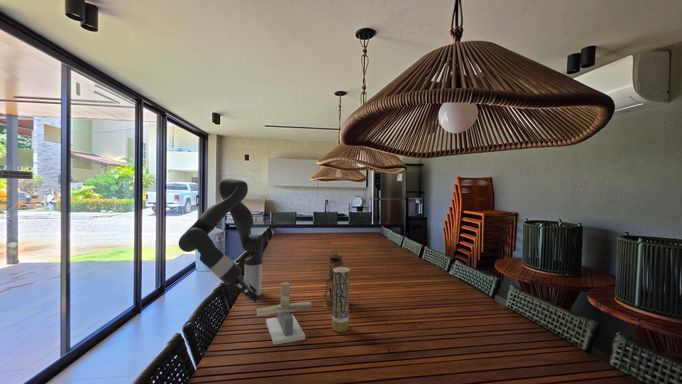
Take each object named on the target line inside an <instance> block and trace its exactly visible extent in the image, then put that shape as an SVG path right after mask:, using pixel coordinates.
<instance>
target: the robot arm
mask: <svg viewBox="0 0 682 384" xmlns="http://www.w3.org/2000/svg"><path fill="white" fill-rule="evenodd" d="M218 187H219V195H220V196H221V199H222V200H221V201H220V202H216V203H215V204H213V205H211V206H209V207H208V208H207V209H206V210H204V212H202V214H201V215H200V216H199V217H198V218H197V219H196V221H195V222H194V224H192V225H191V226H190V227H189V228H188V229H187V230H186V231H185V232H184V233H183V234H182V235H181V236H180V237H179V240H178V247H179V249H180V250H181V251H183V252H185V253H191V252H193V251H195V250H196V251H197V252H198V253H199V254H200V255H199V260H200V262H202V264H203V265H204V266H206V267H207V268H208V269H209V270H210V271H211V272H212V273H213V274H214V275H215V276H216V277H218V279H219V280H221V281H222V282H223V283H224V284H225V285H227V286H228V285H229V286H230V285H231V284H232V283H234V286H235V288H236V289H237V290H238V291H239V292H241V294H243V296H244V297H246V298H250V300H252V301H253V302H257V301H258V300H260V297H259V296H261V295H262V276H263V275H262V274H263V268H262V267H263V256H264V255H263V252H264V237H263V235H262V234H249V231H250V230H251V229H252V227H253V225H254V218H253V214H252V211H251V210H250V208H248V206H246V205H245V204H244V203H243V200H244V199H245V198H246V197H247V195H248V192H249V191H248V190H249V187H248V183H247V182H246V181H244V180H241V179H240V180H239V179H235V178H234V179H232V178H224V179H222V180H220V182H219V186H218ZM228 213H230V215H231V218H232V221H233V223H234V226H235V228H236V230H237V232H238V235H239V239H240V242H241V243H240V244H241V247H242V249H243V251H244V252H255V254H253V255H252V256H249V257H246V258H245V259H244V275H243V274H241V273H242V271H243V269H242V268H241V267H240V266H239V265H238V264H237V263H236V262H234V260H232V259H231V258H230V257H229V256H228V255H226V254H224V253H223V251H221V249H219V248H218V247H217V246H216V245H215V243H214V241H213V240H212V238H211V237H210V235H209V234H210V233H212V231H214V229H215V228H216V227H217V226H218V224H219V223H220V222H221V220H223V218H224V217H226V215H227V214H228Z"/></svg>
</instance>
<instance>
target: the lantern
mask: <svg viewBox="0 0 682 384" xmlns="http://www.w3.org/2000/svg"><path fill="white" fill-rule="evenodd" d="M335 250H336V249H334V251H333V252H334V254H331V255H328V258H329V260H328V268H327V270H328V271H329V273H328V276H327V277H328V278H329V279H327V280H326V281H325V285H326V286H327V287H326V288H325V292H324V302H323V303H322V306H323V308H325V309H326V310H331V311H333V273H334V268H336V267H344V264H343V260H342V258H343V256H342V255H340V254H338V253H337V252H336V251H335ZM328 293H329V294H328Z"/></svg>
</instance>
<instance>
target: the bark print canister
mask: <svg viewBox="0 0 682 384" xmlns="http://www.w3.org/2000/svg"><path fill="white" fill-rule="evenodd" d="M350 274H351V273H350V268H349V267H345V266H343V267H336V268H334V273H333V310H332V317H331V318H332V322H331V323H332V325H331V326H332V330H333V331H334V332H336V333H343V332H344V333H345V332H346V331H348V330H349V321H350V320H349V319H350V318H349V317H350V316H349V315H350V313H349V312H350V278H351V275H350Z"/></svg>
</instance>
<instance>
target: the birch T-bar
mask: <svg viewBox="0 0 682 384" xmlns="http://www.w3.org/2000/svg"><path fill="white" fill-rule="evenodd" d="M290 290H291V285H290V283H289V282H280V303H279V304H280V305H278V304H277V305H270V306H269V305H268V306H263V307H257V308H256V315H257V317H261V316H267V315H268V316H269V315H273V314H278V313H283V312H290V313H291V312H295V311H303V310H308V309H309V310H310V309H312V302H311V301H310V300H309V301H301V302H293V303H292V302H291V303H290V293H291V292H290Z"/></svg>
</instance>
